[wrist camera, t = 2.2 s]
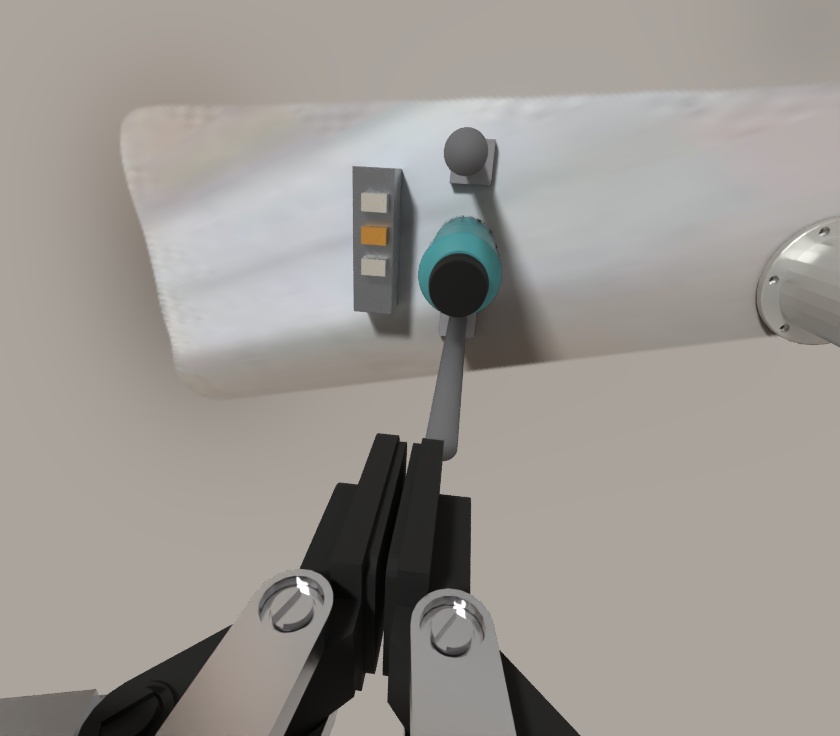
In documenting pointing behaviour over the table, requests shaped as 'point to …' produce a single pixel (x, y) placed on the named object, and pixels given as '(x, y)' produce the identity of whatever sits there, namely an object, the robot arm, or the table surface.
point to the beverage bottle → (461, 268)
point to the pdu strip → (376, 238)
